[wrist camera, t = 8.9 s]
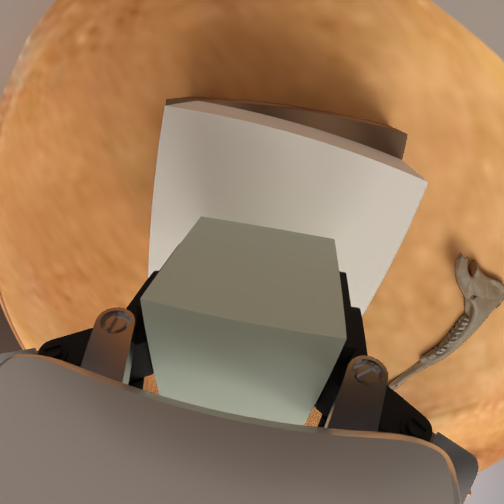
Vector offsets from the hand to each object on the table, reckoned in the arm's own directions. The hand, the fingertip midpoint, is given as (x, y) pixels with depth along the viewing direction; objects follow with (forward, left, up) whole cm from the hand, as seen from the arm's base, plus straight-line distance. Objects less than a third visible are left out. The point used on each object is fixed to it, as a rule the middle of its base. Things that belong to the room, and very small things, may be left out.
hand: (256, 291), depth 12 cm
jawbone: (-16, +11, -12) cm, 23 cm away
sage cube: (0, 0, -1) cm, 1 cm away
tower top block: (0, 0, -8) cm, 8 cm away
